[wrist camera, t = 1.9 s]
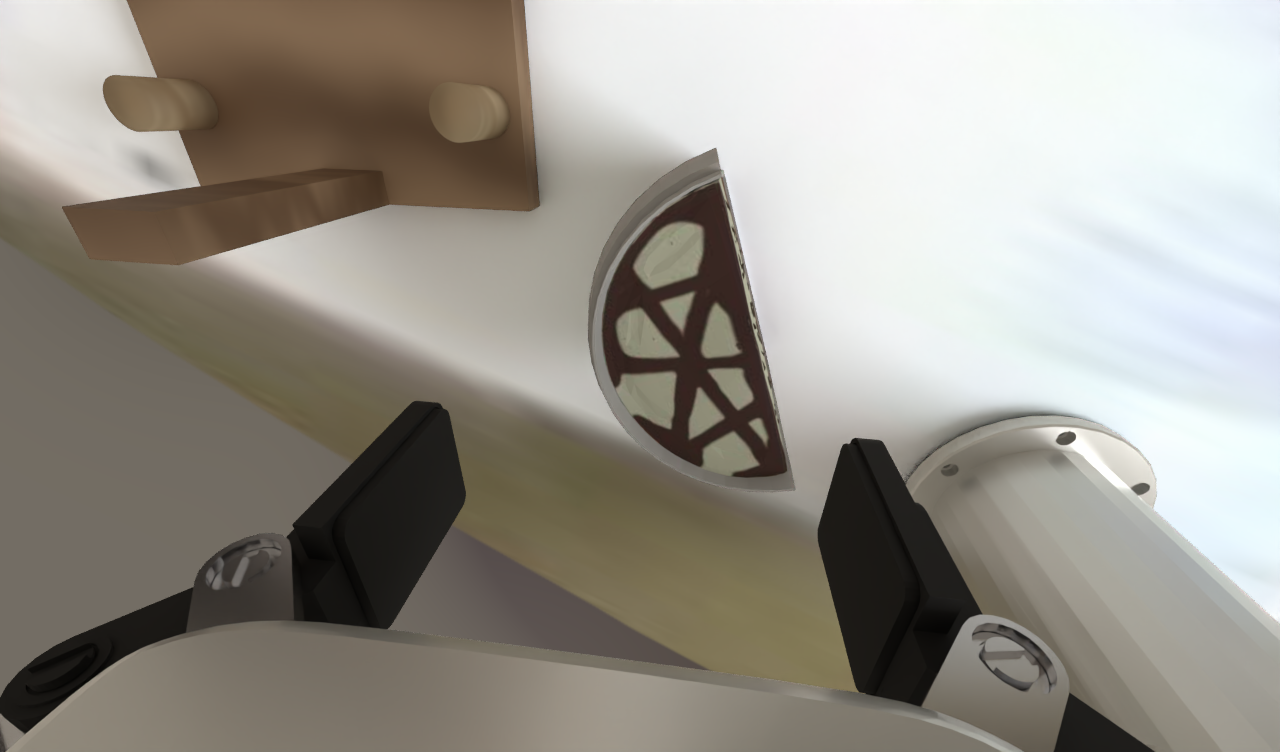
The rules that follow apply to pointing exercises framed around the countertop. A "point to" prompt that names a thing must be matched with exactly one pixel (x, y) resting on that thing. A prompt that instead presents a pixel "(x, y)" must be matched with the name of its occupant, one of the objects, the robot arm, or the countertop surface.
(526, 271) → the countertop surface
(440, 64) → the peg stand
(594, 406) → the countertop surface
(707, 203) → the food container
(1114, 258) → the countertop surface
